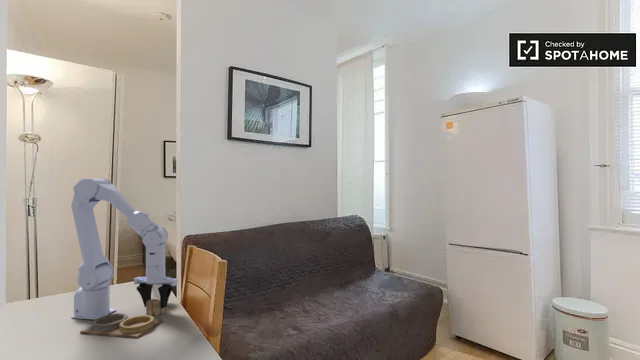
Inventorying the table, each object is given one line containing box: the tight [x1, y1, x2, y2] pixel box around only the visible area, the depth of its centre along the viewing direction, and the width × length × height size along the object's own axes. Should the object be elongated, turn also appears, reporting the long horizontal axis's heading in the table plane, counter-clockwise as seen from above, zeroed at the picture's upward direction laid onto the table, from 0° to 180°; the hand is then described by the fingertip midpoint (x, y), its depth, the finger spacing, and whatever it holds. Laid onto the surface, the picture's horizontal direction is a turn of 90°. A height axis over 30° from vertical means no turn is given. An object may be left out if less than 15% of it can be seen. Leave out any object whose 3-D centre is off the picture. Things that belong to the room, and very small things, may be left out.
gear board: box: [80, 312, 164, 339], centre depth 96 cm, size 18×11×2 cm, turn 80°
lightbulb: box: [151, 285, 162, 299], centre depth 116 cm, size 6×6×11 cm
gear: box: [145, 298, 166, 317], centre depth 107 cm, size 5×5×4 cm
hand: (155, 306), depth 107 cm, fingers closed on gear, 5 cm apart
